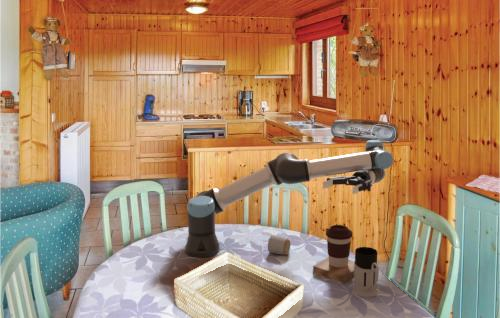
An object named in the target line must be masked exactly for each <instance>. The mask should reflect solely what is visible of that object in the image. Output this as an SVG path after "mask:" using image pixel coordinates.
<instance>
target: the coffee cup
mask: <svg viewBox="0 0 500 318" xmlns="http://www.w3.org/2000/svg"><path fill="white" fill-rule="evenodd" d="M325 236H326V237H327V239H326V241H327V242H326V244H327V256H328V257H329V264H330V265H331V266H332V267H336V268H343V267H346V266H347V265H348V260H349V257H350V253H351V238H352V237H353V231H352V230H351V229H349V227H347V226H346V225H343V224H334V225H331V226H330V227H329V228H327V229H326V231H325Z"/></svg>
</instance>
